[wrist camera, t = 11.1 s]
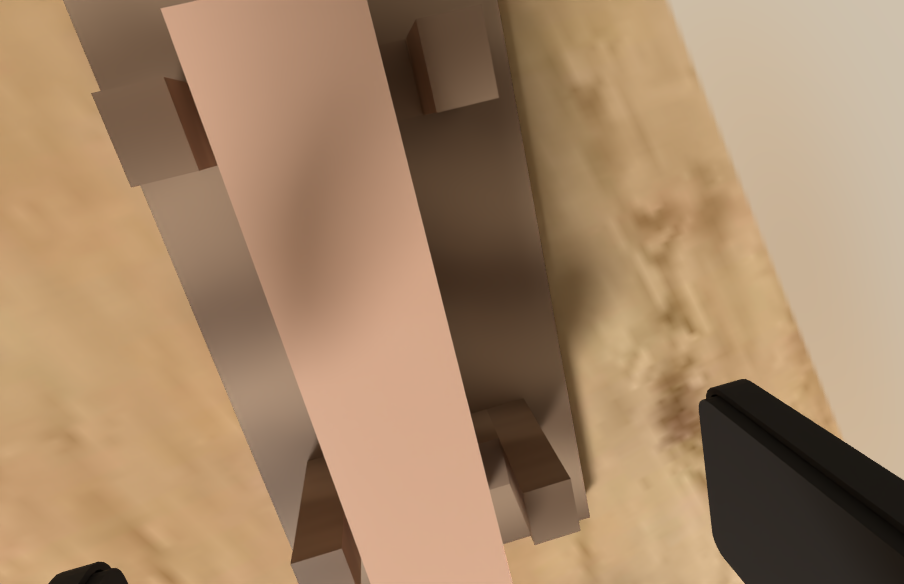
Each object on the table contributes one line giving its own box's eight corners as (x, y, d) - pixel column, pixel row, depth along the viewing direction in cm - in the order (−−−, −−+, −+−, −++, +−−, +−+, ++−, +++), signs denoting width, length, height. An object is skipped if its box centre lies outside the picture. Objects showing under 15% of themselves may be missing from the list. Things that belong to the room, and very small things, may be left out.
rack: (580, 501, 24) (648, 617, 18) (316, 583, 23) (301, 732, 17) (464, -131, 16) (519, -266, 11) (58, -47, 15) (-118, -146, 10)
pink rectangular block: (482, 497, 20) (521, 616, 15) (388, 526, 19) (397, 657, 15) (359, 17, 14) (358, -35, 10) (228, 46, 14) (160, 8, 9)
